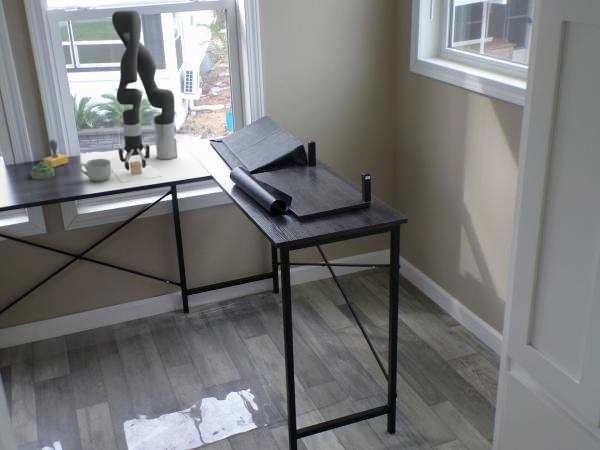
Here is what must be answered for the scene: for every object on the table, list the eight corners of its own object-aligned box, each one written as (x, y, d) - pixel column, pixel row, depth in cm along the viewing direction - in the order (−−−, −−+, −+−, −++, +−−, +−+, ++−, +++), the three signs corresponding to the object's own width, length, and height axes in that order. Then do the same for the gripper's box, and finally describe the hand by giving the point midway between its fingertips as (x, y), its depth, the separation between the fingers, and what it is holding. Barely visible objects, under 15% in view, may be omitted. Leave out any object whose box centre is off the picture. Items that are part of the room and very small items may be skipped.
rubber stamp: (60, 160, 322) (57, 136, 317) (68, 162, 320) (65, 138, 315) (43, 166, 314) (39, 141, 310) (52, 168, 312) (48, 143, 307)
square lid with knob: (150, 166, 317) (149, 154, 315) (161, 177, 303) (160, 165, 300) (111, 172, 309) (110, 160, 307) (121, 183, 295) (120, 171, 293)
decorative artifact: (33, 173, 305) (30, 180, 296) (30, 158, 303) (27, 165, 294) (56, 171, 307) (53, 178, 299) (54, 157, 305) (51, 163, 296)
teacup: (115, 176, 302) (114, 159, 299) (107, 184, 292) (105, 166, 289) (86, 174, 303) (83, 157, 300) (76, 182, 294) (74, 165, 290)
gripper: (146, 129, 304) (148, 164, 311) (114, 133, 298) (117, 168, 305) (150, 133, 298) (153, 168, 305) (118, 137, 292) (122, 173, 299)
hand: (135, 168), depth 305 cm, fingers open, 6 cm apart
